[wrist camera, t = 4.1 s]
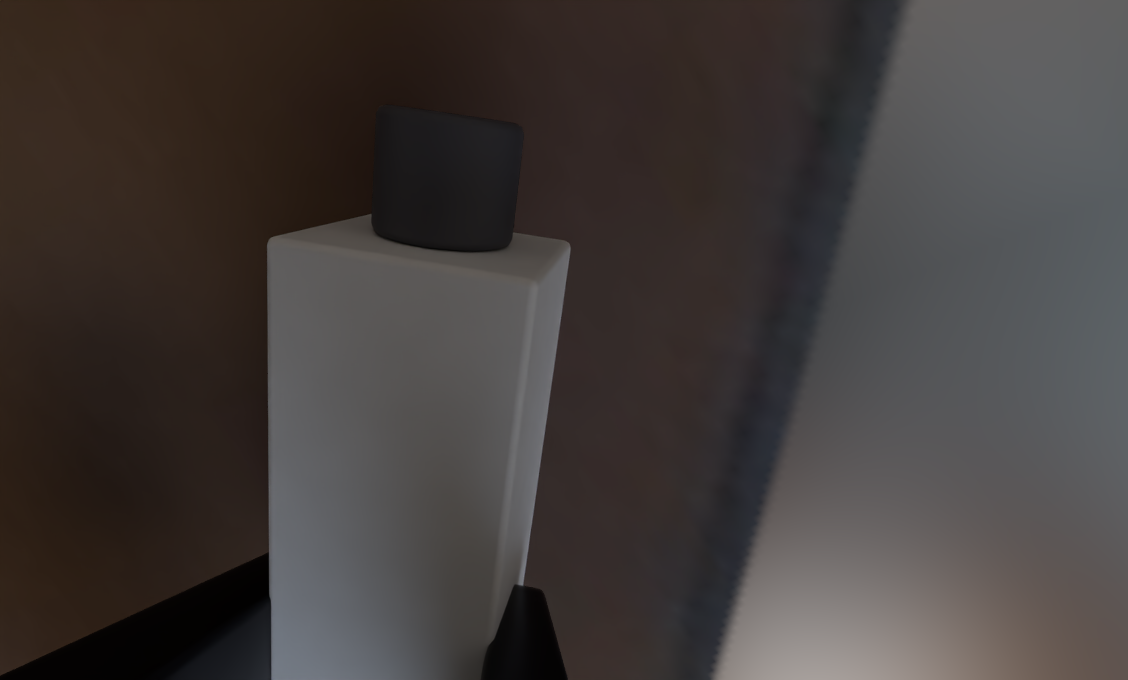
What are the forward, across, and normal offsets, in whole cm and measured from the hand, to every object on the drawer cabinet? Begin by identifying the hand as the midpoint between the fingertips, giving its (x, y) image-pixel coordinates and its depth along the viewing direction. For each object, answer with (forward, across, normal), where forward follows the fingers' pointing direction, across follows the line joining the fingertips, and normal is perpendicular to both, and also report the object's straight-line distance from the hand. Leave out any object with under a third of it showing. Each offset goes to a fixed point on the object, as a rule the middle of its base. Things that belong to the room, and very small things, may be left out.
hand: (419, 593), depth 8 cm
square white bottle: (+1, 0, 0) cm, 1 cm away
